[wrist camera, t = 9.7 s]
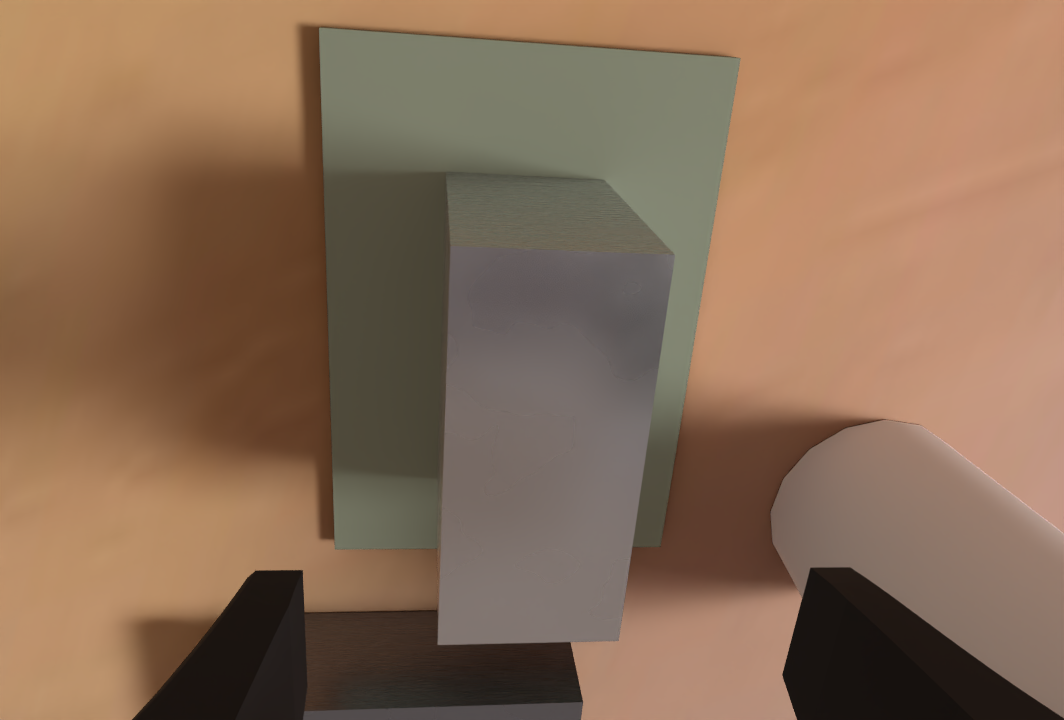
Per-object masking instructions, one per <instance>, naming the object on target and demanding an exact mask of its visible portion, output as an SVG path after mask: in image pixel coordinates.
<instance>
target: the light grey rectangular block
mask: <svg viewBox="0 0 1064 720" xmlns="http://www.w3.org/2000/svg"><path fill="white" fill-rule="evenodd" d="M674 260H675V254H674V253H673V252H672V251H671V250H670V249H669V248H668V247H667V246H666V245H665V243H664V242H663V241H662V240H661V239H660V238H659V237H658V236H657V235H656V234H655V233H654V232H653V231H652V230H651V229H650V228H649V226H648V225H647V224H646V223H645V222H644V221H643V220H642V219H641V218H640V217H639V216H638V215H637V214H636V213H635V212H634V211H633V209H632V208H631V207H630V206H629V205H628V204H627V203H626V202H625V201H624V200H623V199H622V198H621V197H620V196H619V195H618V193H617V192H616V191H615V190H614V189H613V188H612V187H611V186H610V185H609V184H608V183H607V182H606V181H605V180H600V179H580V178H561V177H542V176H522V175H503V174H483V173H464V172H446V190H445V225H444V259H443V293H442V328H441V362H440V396H439V431H438V465H437V613H438V645H461V644H504V643H548V642H592V641H619V634H620V628H621V621H622V614H623V607H624V600H625V593H626V587H627V580H628V573H629V566H630V559H631V553H632V546H633V539H634V532H635V525H636V519H637V512H638V505H639V498H640V491H641V484H642V478H643V471H644V464H645V457H646V450H647V444H648V437H649V430H650V423H651V416H652V410H653V403H654V396H655V389H656V382H657V375H658V369H659V362H660V355H661V348H662V341H663V335H664V328H665V321H666V314H667V307H668V301H669V294H670V287H671V280H672V273H673V266H674Z"/></svg>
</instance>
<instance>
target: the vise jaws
mask: <svg viewBox="0 0 1064 720" xmlns="http://www.w3.org/2000/svg"><path fill="white" fill-rule="evenodd" d="M304 615H305V638H306V661H307V684H308V687H307V694H306V702H305V709H304V716H303V720H581V714H582V706H583V700H582V695H581V690H580V686H579V681H578V676H577V671H576V666H575V662H574V657H573V652H572V647H571V643H570V642H548V643H504V644H461V645H438V613H437V611H417V612H359V613H304Z"/></svg>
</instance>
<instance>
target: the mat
mask: <svg viewBox="0 0 1064 720" xmlns="http://www.w3.org/2000/svg"><path fill="white" fill-rule="evenodd" d="M319 46H320V79H321V112H322V145H323V178H324V210H325V243H326V276H327V309H328V342H329V374H330V407H331V440H332V473H333V506H334V538H335V549H437V465H438V431H439V396H440V362H441V328H442V293H443V259H444V225H445V190H446V172H464V173H483V174H503V175H522V176H542V177H561V178H580V179H600V180H605V181H606V182H607V183H608V184H609V185H610V186H611V187H612V188H613V189H614V190H615V191H616V192H617V193H618V195H619V196H620V197H621V198H622V199H623V200H624V201H625V202H626V203H627V204H628V205H629V206H630V207H631V208H632V209H633V211H634V212H635V213H636V214H637V215H638V216H639V217H640V218H641V219H642V220H643V221H644V222H645V223H646V224H647V225H648V226H649V228H650V229H651V230H652V231H653V232H654V233H655V234H656V235H657V236H658V237H659V238H660V239H661V240H662V241H663V242H664V243H665V245H666V246H667V247H668V248H669V249H670V250H671V251H672V252H673V253H674V254H675V260H674V266H673V273H672V280H671V287H670V294H669V301H668V307H667V314H666V321H665V328H664V335H663V341H662V348H661V355H660V362H659V369H658V375H657V382H656V389H655V396H654V403H653V410H652V416H651V423H650V430H649V437H648V444H647V450H646V457H645V464H644V471H643V478H642V484H641V491H640V498H639V505H638V512H637V519H636V525H635V532H634V539H633V546H632V547H661V540H662V534H663V528H664V522H665V516H666V510H667V504H668V498H669V492H670V485H671V479H672V473H673V467H674V461H675V455H676V449H677V443H678V437H679V431H680V424H681V418H682V412H683V406H684V400H685V394H686V388H687V382H688V376H689V370H690V363H691V357H692V351H693V345H694V339H695V333H696V327H697V321H698V315H699V309H700V302H701V296H702V290H703V284H704V278H705V272H706V266H707V260H708V254H709V248H710V241H711V235H712V229H713V223H714V217H715V211H716V205H717V199H718V193H719V186H720V180H721V174H722V168H723V162H724V156H725V150H726V144H727V138H728V132H729V125H730V119H731V113H732V107H733V101H734V95H735V89H736V83H737V77H738V71H739V64H740V58H736V57H726V56H712V55H698V54H684V53H671V52H657V51H643V50H630V49H616V48H602V47H588V46H575V45H561V44H547V43H534V42H520V41H506V40H492V39H479V38H465V37H451V36H438V35H424V34H410V33H396V32H383V31H369V30H355V29H342V28H328V27H319Z"/></svg>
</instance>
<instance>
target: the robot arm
mask: <svg viewBox="0 0 1064 720" xmlns="http://www.w3.org/2000/svg"><path fill="white" fill-rule="evenodd" d="M782 675H783V679H784V682H785V685H786V688H787V691H788V694H789V697H790V700H791V703H792V706H793V709H794V712H795V715H796V717H797V720H1064V718H1063V717H1061V716H1060V715H1058V714H1057V713H1055V712H1054V711H1052V710H1051V709H1049V708H1048V707H1046V706H1045V705H1043V704H1042V703H1040V702H1039V701H1037V700H1036V699H1034V698H1033V697H1031V696H1030V695H1028V694H1027V693H1025V692H1024V691H1022V690H1021V689H1019V688H1018V687H1016V686H1015V685H1013V684H1012V683H1011V682H1009V681H1008V680H1006V679H1005V678H1003V677H1002V676H1001V675H999V674H998V673H996V672H995V671H993V670H992V669H991V668H989V667H988V666H986V665H985V664H984V663H982V662H981V661H979V660H978V659H977V658H975V657H974V656H972V655H971V654H970V653H968V652H967V651H966V650H964V649H963V648H961V647H960V646H959V645H957V644H956V643H955V642H953V641H952V640H950V639H949V638H948V637H946V636H945V635H944V634H942V633H941V632H940V631H938V630H937V629H936V628H934V627H933V626H931V625H930V624H929V623H927V622H926V621H925V620H923V619H922V618H921V617H919V616H918V615H917V614H915V613H914V612H913V611H911V610H910V609H909V608H907V607H906V606H905V605H903V604H902V603H900V602H899V601H898V600H896V599H895V598H894V597H892V596H891V595H890V594H888V593H887V592H885V591H884V590H883V589H881V588H880V587H878V586H877V585H876V584H874V583H873V582H871V581H870V580H868V579H867V578H866V577H864V576H863V575H861V574H860V573H858V572H856V571H855V570H853V569H852V568H850V567H813V568H810V571H809V575H808V579H807V583H806V586H805V590H804V594H803V598H802V602H801V606H800V609H799V613H798V617H797V621H796V625H795V628H794V632H793V636H792V640H791V644H790V648H789V651H788V655H787V659H786V663H785V667H784V671H783V674H782ZM307 687H308V684H307V661H306V638H305V615H304V592H303V570H279V571H255V572H254V573H253V574H251V575H250V576H249V577H248V578H247V579H246V581H245V582H244V583H243V585H242V586H241V588H240V589H239V591H238V592H237V593H236V595H235V596H234V597H233V599H232V600H231V602H230V603H229V604H228V606H227V607H226V608H225V610H224V611H223V612H222V614H221V615H220V616H219V618H218V619H217V620H216V622H215V623H214V624H213V625H212V627H211V628H210V629H209V630H208V632H207V633H206V634H205V636H204V637H203V638H202V639H201V641H200V642H199V643H198V644H197V646H196V647H195V648H194V649H193V650H192V652H191V653H190V654H189V655H188V656H187V658H186V659H185V660H184V661H183V662H182V664H181V665H180V666H179V667H178V668H177V670H176V671H175V672H174V673H173V674H172V676H171V677H170V678H169V679H168V680H167V682H166V683H165V684H164V685H163V686H162V687H161V689H160V690H159V691H158V692H157V693H156V694H155V695H154V697H153V698H152V699H151V700H150V701H149V702H148V703H147V704H146V705H145V706H144V707H143V709H142V710H141V711H140V712H139V713H138V714H137V715H136V716H135V717H134V718H133V719H132V720H303V716H304V709H305V702H306V694H307Z"/></svg>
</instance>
